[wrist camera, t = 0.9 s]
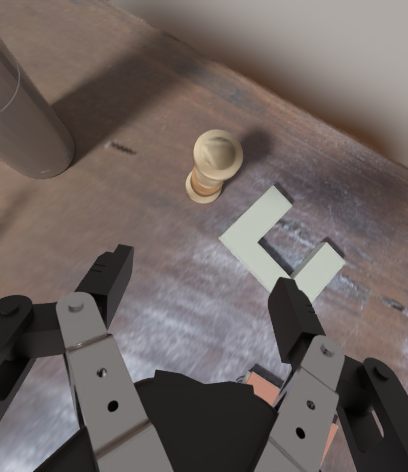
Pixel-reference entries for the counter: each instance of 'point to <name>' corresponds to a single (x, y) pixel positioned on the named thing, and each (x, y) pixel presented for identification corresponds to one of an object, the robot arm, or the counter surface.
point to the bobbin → (213, 165)
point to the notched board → (260, 262)
